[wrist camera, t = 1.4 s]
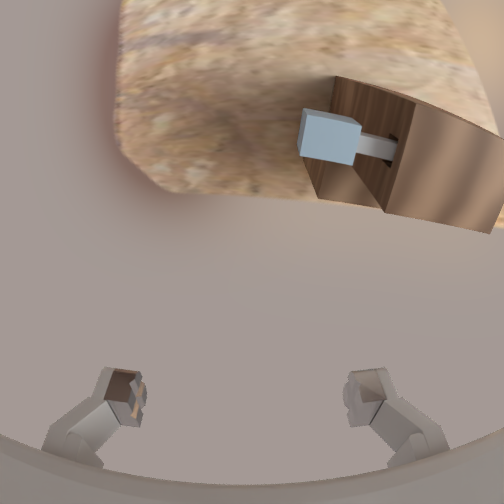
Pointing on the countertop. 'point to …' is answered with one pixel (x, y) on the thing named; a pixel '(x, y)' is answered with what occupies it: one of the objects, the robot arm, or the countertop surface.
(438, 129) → the stand
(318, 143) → the plug
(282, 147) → the countertop surface
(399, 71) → the countertop surface
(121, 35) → the countertop surface
